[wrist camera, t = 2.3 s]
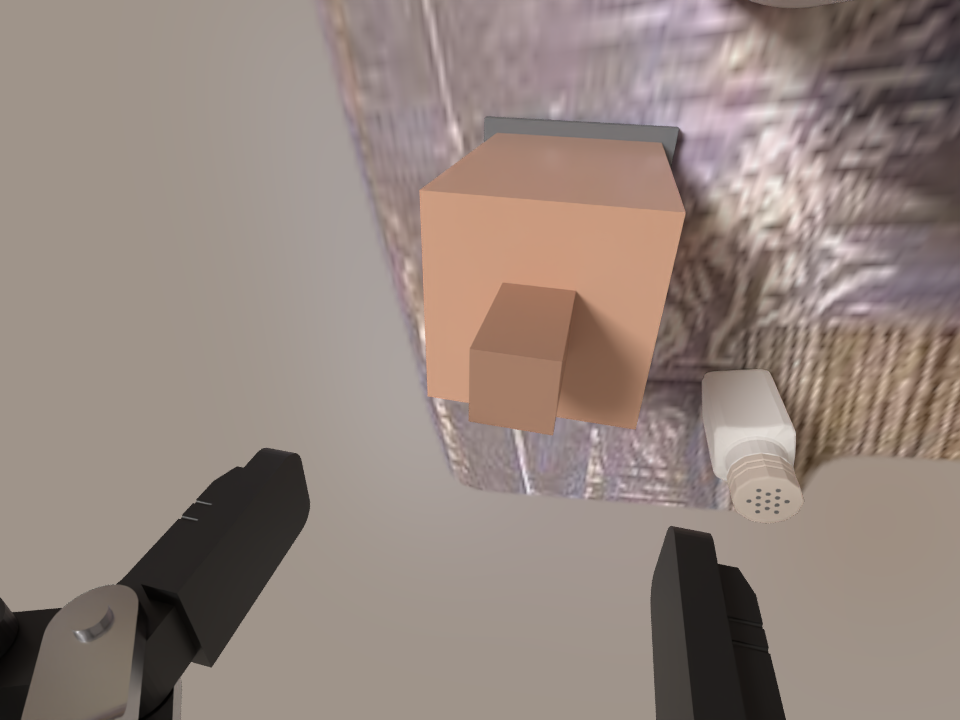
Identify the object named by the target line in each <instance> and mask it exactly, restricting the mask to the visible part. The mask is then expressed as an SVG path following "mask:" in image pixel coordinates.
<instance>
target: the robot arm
mask: <svg viewBox="0 0 960 720" xmlns="http://www.w3.org/2000/svg"><path fill="white" fill-rule="evenodd" d="M309 509H310V499H309V494H308V490H307V485H306V480H305V475H304V470H303V466H302V461H301V458H300V456H299V455H298V454H296V453H292V452H286V451H281V450H275V449H270V448H263V449H261V450H260V451H259V452H257V453H256V455H255V456H254V457H253V458H252V459H251V460H250V461H249V462H248V464H247V465H246V466H245V467H244V468H242V467H235V468H234V469H232V470H230V471H229V472H227V473H226V474H224V475H223V476H221V477H219V478H218V479H216V480H215V481H213V482H212V483H211V485H209V487H208V488H207V489H206V490H205V491H204V492H203V493H202V494H201V495H200V496H199V498H197V501H196V503H195V504H194V503H193V504H192V505H191V506H190V507H189V508H188V509H187V510H186V511H185V512H184V513H183V515H182V518H181V519H178V520H177V521H176V522H175V523H174V524H173V525H172V526H171V528H170V529H169V530H168V531H167V532H166V533H165V534H164V535H163V536H162V537H161V538H160V539H159V540H158V542H157V543H156V544H155V545H154V546H153V547H152V548H151V549H150V550H149V551H148V552H147V553H146V554H145V555H144V557H143V558H142V559H141V560H140V561H139V562H138V563H137V564H136V565H135V566H134V567H133V568H132V570H131V571H130V572H129V573H128V574H127V575H126V576H125V577H124V578H123V579H122V580H121V581H120V582H118V583H117V584H116V585H114V584H113V585H105V586H101V587H98V588H95V589H92V590H89V591H88V592H85V593H83V594H81V595H80V596H78V597H76V598H75V599H73V600H72V601H70V602H69V603H68V604H66V605H65V606H64V607H63V608H58V609H57V608H56V609H45V610H34V611H23V612H11V611H10V609H9V608H8V607H7V605H6V604H5V603H4V601H3V600H2V599H1V598H0V720H181V698H182V696H181V695H182V682H181V678H180V677H181V675H182V674H183V673H184V671H185V670H186V668H187V667H188V665H189V664H190V663H191V662H194V663H197V664H201V665H204V666H208V667H212V666H213V665H214V663H215V662H216V660H217V658H218V657H219V655H220V654H221V652H222V651H223V649H224V648H225V646H226V645H227V643H228V642H229V640H230V639H231V637H232V636H233V634H234V633H235V631H236V630H237V628H238V626H239V625H240V623H241V622H242V620H243V619H244V617H245V616H246V614H247V613H248V611H249V610H250V608H251V607H252V605H253V604H254V602H255V600H256V599H257V597H258V596H259V595H260V593H261V591H262V590H263V588H264V587H265V585H266V584H267V582H268V581H269V579H270V578H271V576H272V575H273V573H274V572H275V570H276V568H277V567H278V565H279V564H280V563H281V561H282V559H283V558H284V556H285V555H286V553H287V552H288V550H289V549H290V547H291V546H292V544H293V543H294V541H295V540H296V538H297V536H298V535H299V534H300V532H301V530H302V529H303V527H304V525H305V523H306V521H307V518H308V514H309ZM651 622H652V623H651V624H652V642H653V643H652V644H653V663H654V683H655V704H656V720H786V718H785V714H784V710H783V705H782V701H781V697H780V693H779V689H778V685H777V681H776V677H775V672H774V668H773V664H772V660H771V656H770V654H769V653H768V643H767V639H766V635H765V631H764V629H763V628H762V625H763V623H762V618H761V614H760V610H759V606H758V602H757V597H756V594H755V593H754V591H753V590H752V588H751V587H750V585H749V584H748V582H747V581H746V579H745V578H744V576H743V575H742V573H741V572H740V570H739V568H736V567H731V566H726V565H721V564H718V563H717V558H716V552H715V546H714V541H713V538H712V536H711V534H710V533H705V532H700V531H694V530H690V529H684V528H679V527H673V526H670V527H669V528H668V530H667V533H666V536H665V540H664V543H663V546H662V549H661V552H660V555H659V559H658V562H657V565H656V568H655V571H654V575H653V580H652V587H651Z"/></svg>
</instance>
